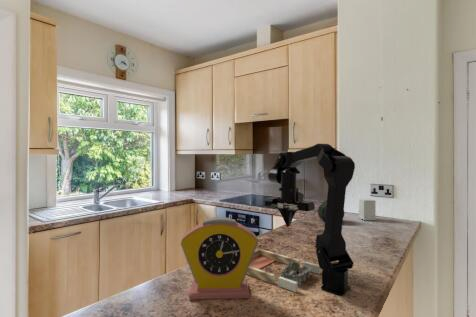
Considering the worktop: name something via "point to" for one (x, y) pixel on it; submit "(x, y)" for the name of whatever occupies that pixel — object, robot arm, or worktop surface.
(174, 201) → the worktop surface
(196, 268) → the retro mantel clock
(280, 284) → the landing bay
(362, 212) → the supplement box
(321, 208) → the squash
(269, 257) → the channel
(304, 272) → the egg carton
